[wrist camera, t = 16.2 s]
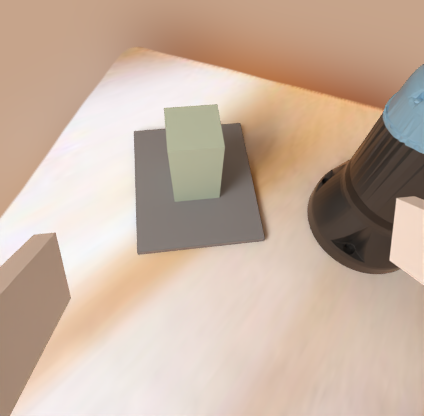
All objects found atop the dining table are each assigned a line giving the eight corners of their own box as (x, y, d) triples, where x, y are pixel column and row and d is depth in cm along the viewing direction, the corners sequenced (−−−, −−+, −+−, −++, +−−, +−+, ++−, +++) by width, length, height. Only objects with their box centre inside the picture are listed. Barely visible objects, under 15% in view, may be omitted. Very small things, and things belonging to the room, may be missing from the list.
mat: (239, 126, 51) (240, 123, 50) (263, 240, 43) (264, 238, 42) (134, 134, 50) (134, 131, 49) (138, 254, 41) (137, 252, 41)
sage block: (213, 160, 47) (217, 104, 37) (219, 197, 44) (224, 147, 35) (171, 164, 47) (164, 108, 37) (174, 201, 44) (167, 151, 34)
